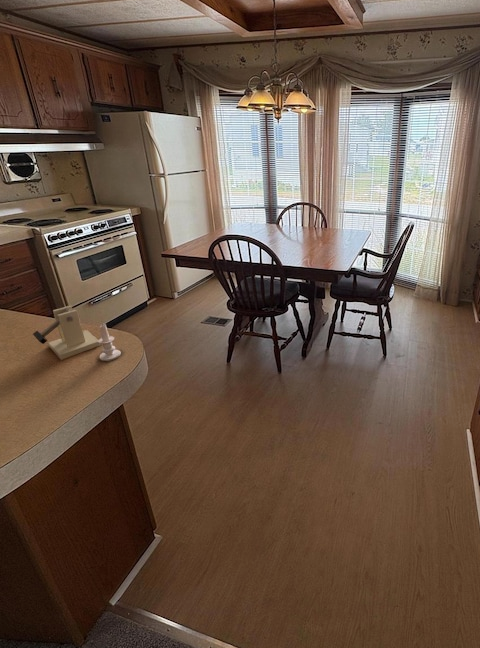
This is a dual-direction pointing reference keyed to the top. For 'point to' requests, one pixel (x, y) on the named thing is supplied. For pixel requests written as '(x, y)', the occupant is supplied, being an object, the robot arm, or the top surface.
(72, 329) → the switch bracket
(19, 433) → the top surface
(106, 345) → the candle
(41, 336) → the switch lever
